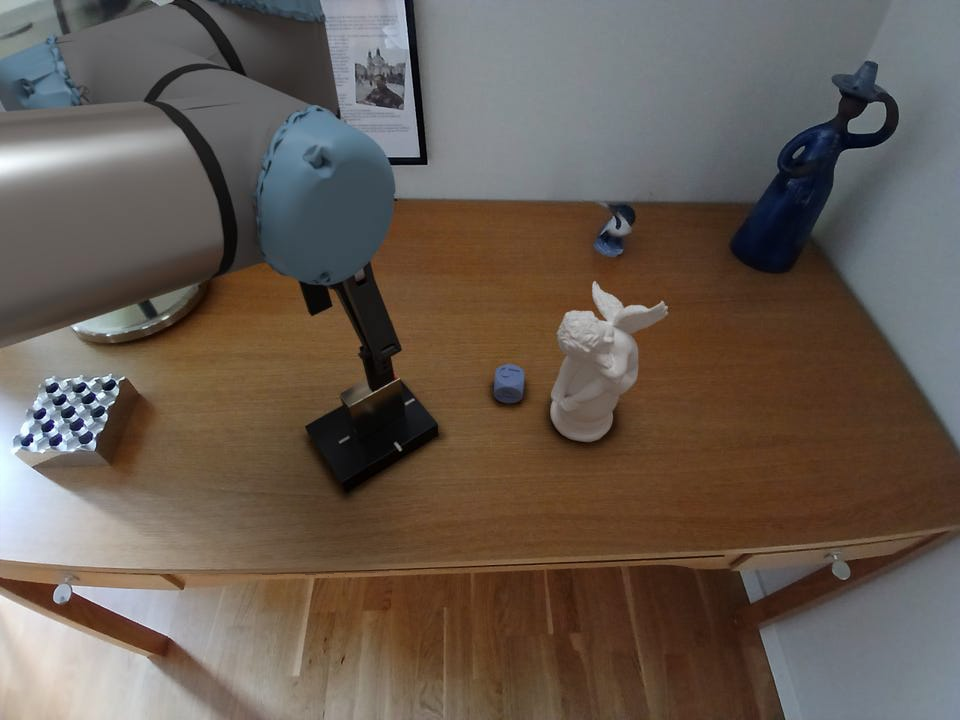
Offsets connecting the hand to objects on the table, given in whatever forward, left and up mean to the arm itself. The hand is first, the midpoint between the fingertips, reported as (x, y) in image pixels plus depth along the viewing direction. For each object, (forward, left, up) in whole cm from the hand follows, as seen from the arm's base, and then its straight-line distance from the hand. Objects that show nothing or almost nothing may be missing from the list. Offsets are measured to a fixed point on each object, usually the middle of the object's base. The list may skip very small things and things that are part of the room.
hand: (349, 345), depth 61 cm
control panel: (0, -1, -18) cm, 18 cm away
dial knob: (+1, -1, -14) cm, 15 cm away
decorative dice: (+19, -6, -18) cm, 27 cm away
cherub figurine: (+26, -14, -18) cm, 34 cm away
